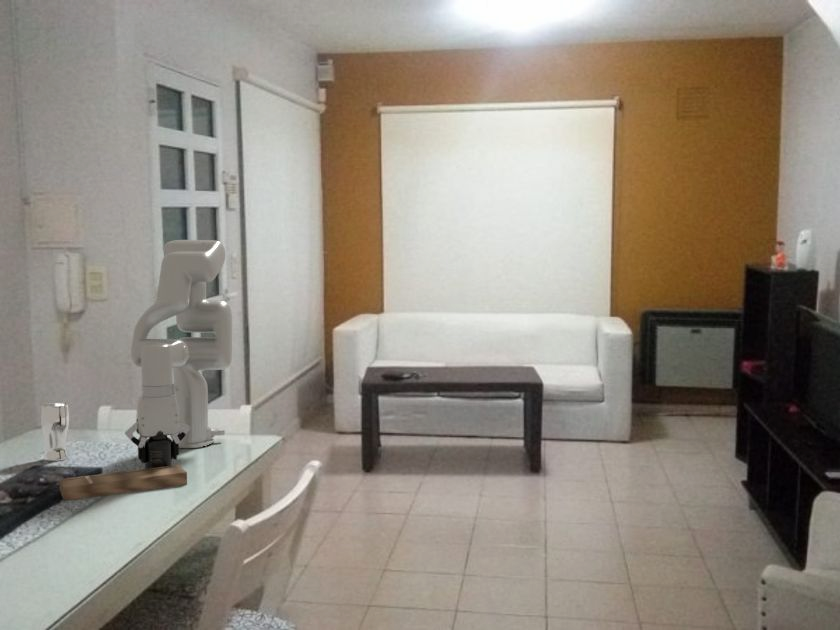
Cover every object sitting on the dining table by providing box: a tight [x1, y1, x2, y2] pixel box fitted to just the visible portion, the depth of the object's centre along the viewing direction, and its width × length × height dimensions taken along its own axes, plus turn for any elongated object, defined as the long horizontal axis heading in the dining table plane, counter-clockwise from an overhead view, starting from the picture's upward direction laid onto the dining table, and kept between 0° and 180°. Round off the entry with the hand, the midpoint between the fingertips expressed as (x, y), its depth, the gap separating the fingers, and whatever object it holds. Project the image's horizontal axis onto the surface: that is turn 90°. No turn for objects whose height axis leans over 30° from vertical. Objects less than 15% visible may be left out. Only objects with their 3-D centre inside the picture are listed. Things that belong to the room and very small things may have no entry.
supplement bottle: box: [144, 430, 174, 469], centre depth 216 cm, size 7×7×12 cm
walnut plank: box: [59, 464, 188, 501], centre depth 204 cm, size 28×8×3 cm, turn 119°
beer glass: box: [40, 402, 70, 462], centre depth 231 cm, size 7×7×15 cm
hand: (158, 459), depth 216 cm, fingers open, 7 cm apart
